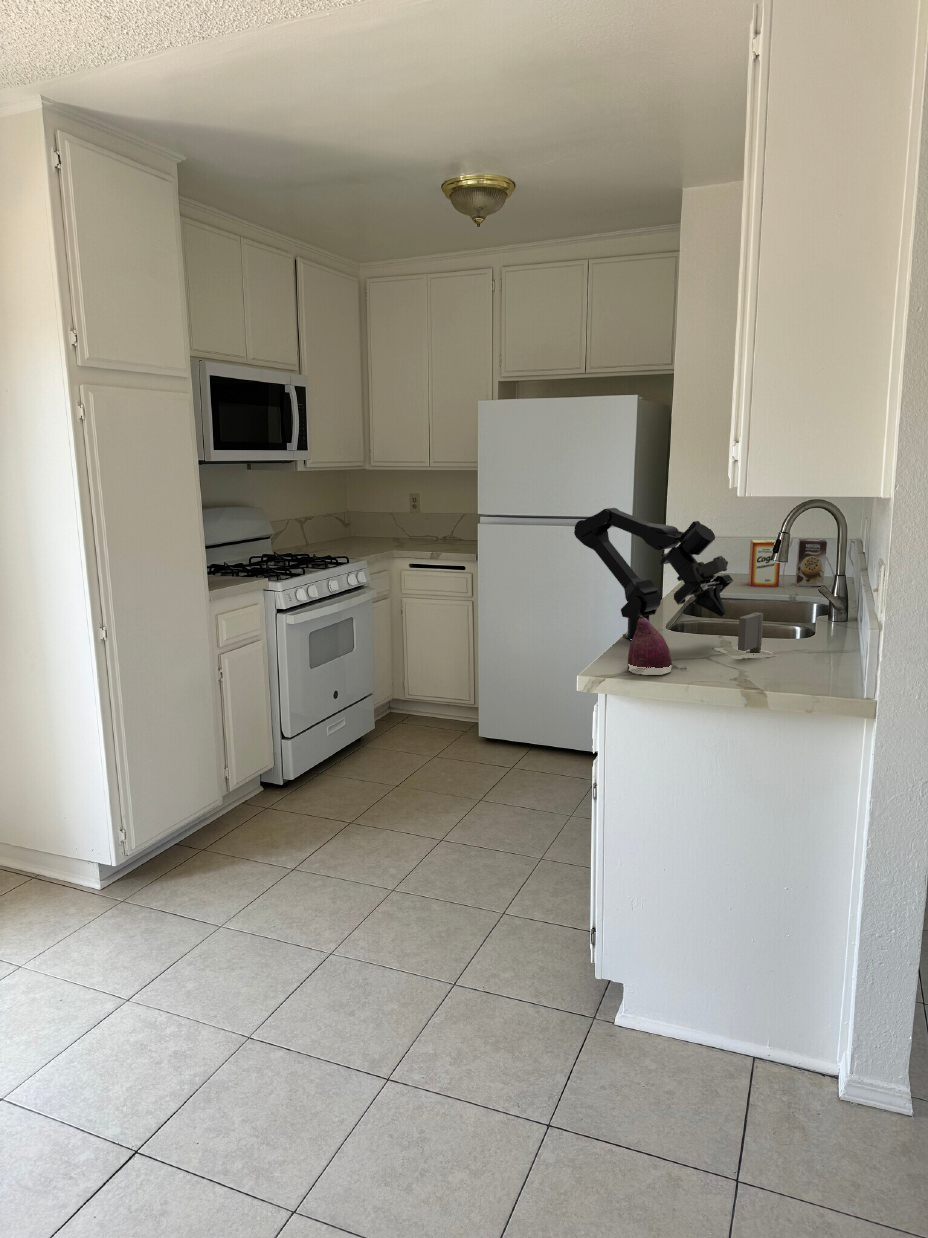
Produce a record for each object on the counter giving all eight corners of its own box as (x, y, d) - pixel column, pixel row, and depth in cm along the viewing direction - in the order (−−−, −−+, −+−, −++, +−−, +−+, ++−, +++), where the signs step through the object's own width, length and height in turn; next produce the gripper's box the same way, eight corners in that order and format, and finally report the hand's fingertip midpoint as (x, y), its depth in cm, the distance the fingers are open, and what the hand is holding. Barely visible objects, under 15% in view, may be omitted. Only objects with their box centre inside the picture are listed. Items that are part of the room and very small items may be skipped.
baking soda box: (750, 586, 306) (753, 541, 302) (748, 583, 312) (750, 538, 308) (778, 586, 304) (781, 541, 300) (775, 583, 310) (778, 539, 307)
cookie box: (796, 586, 304) (799, 540, 301) (794, 583, 310) (797, 538, 307) (824, 587, 302) (827, 541, 298) (822, 584, 308) (825, 538, 304)
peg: (735, 655, 208) (737, 617, 206) (753, 649, 213) (755, 612, 211) (757, 660, 204) (759, 620, 202) (774, 653, 209) (776, 615, 207)
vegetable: (640, 690, 198) (631, 632, 192) (621, 673, 208) (611, 617, 202) (681, 676, 200) (673, 618, 194) (660, 659, 209) (652, 603, 204)
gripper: (685, 550, 207) (724, 601, 202) (727, 542, 220) (765, 590, 214) (657, 579, 215) (694, 629, 209) (699, 570, 227) (735, 617, 221)
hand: (723, 615), depth 213 cm, fingers closed
